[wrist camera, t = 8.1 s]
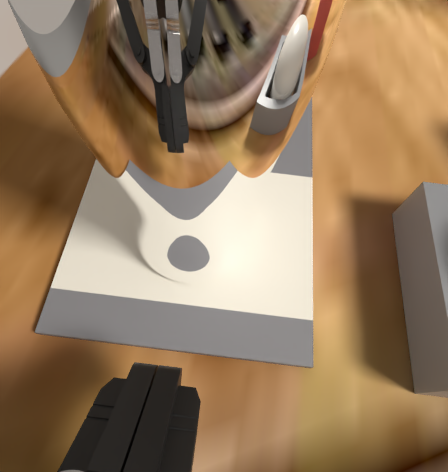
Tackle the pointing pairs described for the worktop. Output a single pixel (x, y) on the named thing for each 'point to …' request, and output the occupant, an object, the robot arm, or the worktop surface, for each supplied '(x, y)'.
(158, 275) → the game board
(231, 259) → the beer glass
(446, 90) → the worktop surface
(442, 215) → the dome base
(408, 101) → the worktop surface
